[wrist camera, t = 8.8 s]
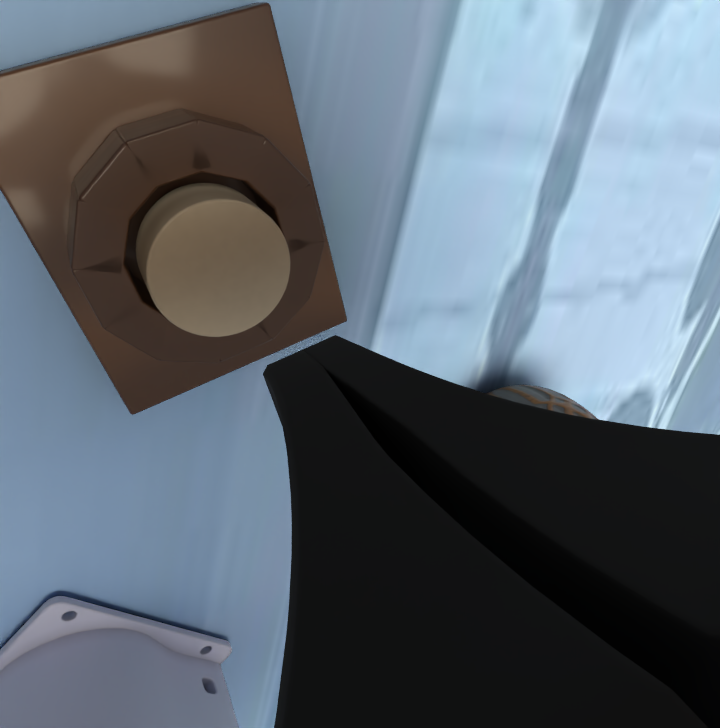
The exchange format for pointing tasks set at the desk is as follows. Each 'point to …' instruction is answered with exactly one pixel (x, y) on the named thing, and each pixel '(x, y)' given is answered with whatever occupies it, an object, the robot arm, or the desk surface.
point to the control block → (162, 186)
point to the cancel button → (212, 259)
